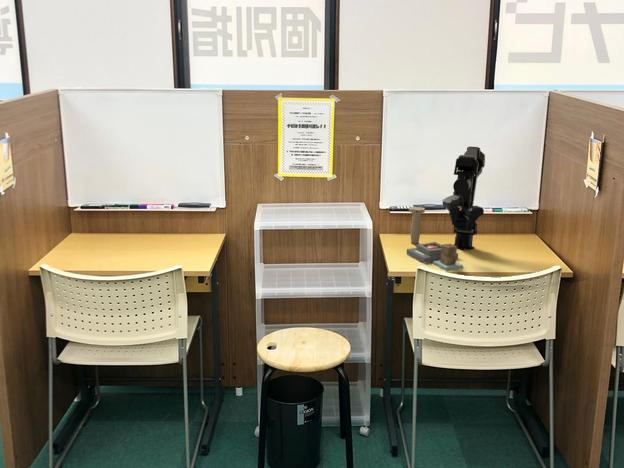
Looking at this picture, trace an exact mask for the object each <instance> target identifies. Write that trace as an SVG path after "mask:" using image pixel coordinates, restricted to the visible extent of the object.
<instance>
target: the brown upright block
mask: <svg viewBox="0 0 624 468" xmlns="http://www.w3.org/2000/svg"><path fill="white" fill-rule="evenodd" d="M441 245H442V248H441V261H440V262H441V263H443V264H445V265H454V264H455V263H456V262H457V258H456V253H457V250H458V248H457V246H455V245H453V244H452V243H445V244H441Z"/></svg>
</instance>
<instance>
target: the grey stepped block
mask: <svg viewBox="0 0 624 468" xmlns="http://www.w3.org/2000/svg"><path fill="white" fill-rule="evenodd" d="M429 245H433V246H437V247H438V249H429V248H427V246H429ZM442 245H443V244H441V243H439V242H436V241H432V242H425V243H424V242H423V243H418V244H416V247H414V248H406V255H408V256H409V257H412V258H414V259H415V260H417V261H419V262H421V263H423V264H425V263H426V264H428V263H433V261H439V260H441V248H442ZM456 259H459V252H456Z"/></svg>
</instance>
